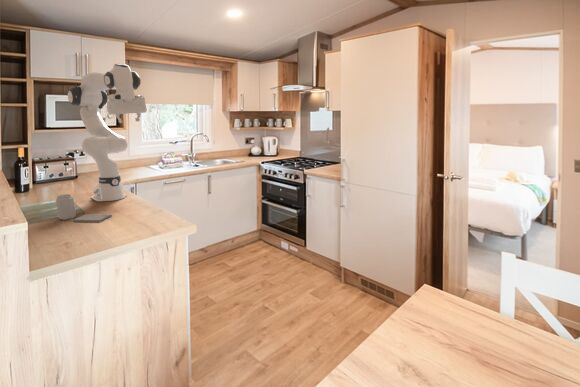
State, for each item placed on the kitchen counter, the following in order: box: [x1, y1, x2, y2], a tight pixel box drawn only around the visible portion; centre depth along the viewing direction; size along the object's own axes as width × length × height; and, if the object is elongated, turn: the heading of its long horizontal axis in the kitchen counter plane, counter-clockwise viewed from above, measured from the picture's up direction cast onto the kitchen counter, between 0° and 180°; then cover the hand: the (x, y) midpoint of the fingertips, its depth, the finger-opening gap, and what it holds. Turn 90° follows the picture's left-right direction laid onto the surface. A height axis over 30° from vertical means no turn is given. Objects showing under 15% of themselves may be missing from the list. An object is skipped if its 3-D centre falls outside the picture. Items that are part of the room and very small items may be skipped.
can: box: [55, 193, 77, 221], centre depth 181 cm, size 8×8×12 cm
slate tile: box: [72, 213, 113, 223], centre depth 179 cm, size 14×10×1 cm
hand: (129, 122), depth 195 cm, fingers open, 8 cm apart
